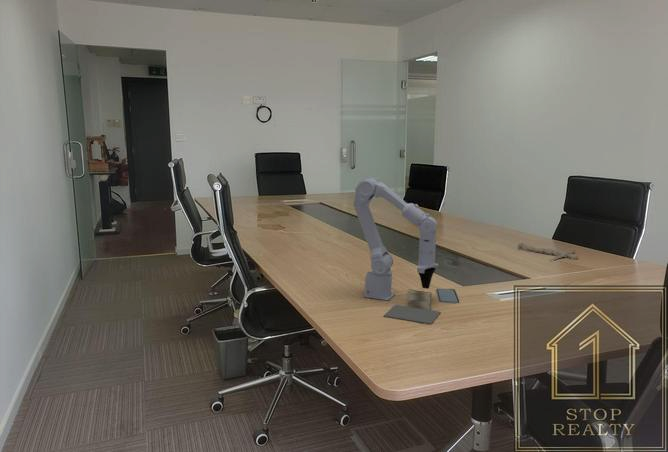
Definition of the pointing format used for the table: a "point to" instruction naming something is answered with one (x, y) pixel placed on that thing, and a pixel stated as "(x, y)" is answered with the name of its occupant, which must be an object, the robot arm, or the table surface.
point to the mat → (412, 314)
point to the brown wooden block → (419, 299)
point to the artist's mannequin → (550, 251)
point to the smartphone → (447, 295)
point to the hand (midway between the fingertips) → (425, 287)
